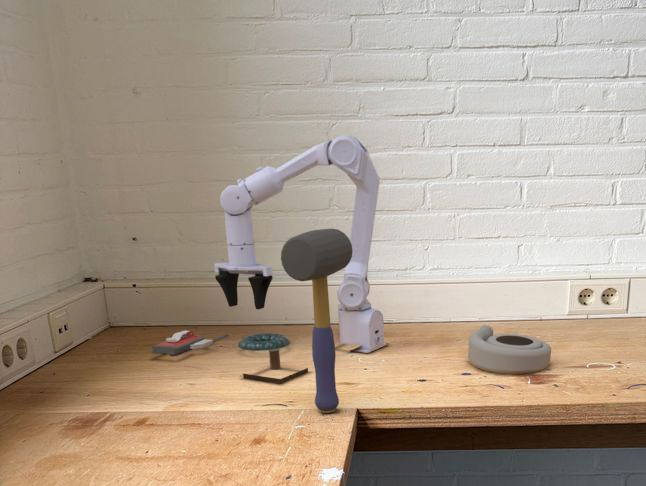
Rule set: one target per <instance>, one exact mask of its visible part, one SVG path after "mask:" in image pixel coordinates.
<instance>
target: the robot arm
mask: <svg viewBox="0 0 646 486" xmlns="http://www.w3.org/2000/svg"><path fill="white" fill-rule="evenodd" d="M333 165H334V166H335V167H337V168H338V169H339V170H341V171H342V172H344V173H345V174H346V175H347V176H348V177H349V179H350V180H351V181H352V183H353V184H354V185H355V187H356V190H355V196H354V206H353V210H352V211H353V212H352V219H351V226H350V235H349V240H350V242H351V244H352V250H353V251H352V258H351V260H350V263H349V264H348V265H347V266H346V267H345V268H344V274H343V280H342V281H341V284H340V285H339V287H338V288H337V291H336V296H337V300H338V303H339V304H338V305H337V311H338V314H337V315H338V330H339V334H338V335H339V343H341V345H342V344H343V345H346V346H347V345H349V346H358V347H355V348H353V349H350V350H349V352H355V353H364V354H369V353H372V352H373V351H376V350H378V349H380V348H383V347H385V346H387V343H386V342H385V328H384V327H385V325H384V323H385V322H384V316H383V313H382V311H380V310H379V309H375V308H373V307H372V303H371V302H370V301H369V300H368V299H367V298H368V296H369V294H370V291H371V289H370V288H371V286H370V282H369V279H368V274H369V273H368V272H369V261H370V255H371V254H370V253H371V246H372V241H373V234H374V225H375V219H376V218H375V217H376V212H377V205H378V204H377V203H378V198H379V197H378V196H379V190H380V176H379V174H378V172H377V169H376V167H375V165H374V162H373V161H372V157H371V155H370V153H369V151H368V149H367V147H365V146H364V145H363V143H362V142H361V141H360V140H359V139H358V138H356V137H355V136H352V135H339V136H336V137H334V139H332V140H327V141H324V142H321V143H319V144H317V145H314V146H313V147H312V146H311V148H309V149H306V151H303V152H302V153H301V154H299V155H296V156H295V157H294V158H292V159H290V160H289V161H287V162H286V163H284V164H282V165H281V166H279V167H277V168H276V167H273V166H271V165H267V166H265V167H264V166H263V165H261V166H259V167H257V168H256V169H255V170H256V172H254V173H252V174H251V175H249V176H247V177H245V178H244V179H243V178H242V177H241V178H238V179H237V180H236V182H237V184H236V185H235V184H234V185H232V184H231V185H227V187H226V188H225V189H223V190H222V192H221V193H220V196H219V197H220V198H219V203H220V206H221V208H222V209H223V211H224V212H223V213H224V221H225V222H224V227H225V236H226V237H225V238H226V246H227V257H228V262H217V263H214V265H213V266H214V273H215V274H216V275H215V277H214V278H215V280H216V282H217V283H218V284H219V286H220V288H221V289H222V291H223V294H224V296H225V299H226V302H227V304H228V307H229V308H232V307H236V306H238V304H239V303H238V302H239V300H238V299H239V297H238V284H239V283H238V282H239V275H250V276H249V277H248V282H249V283H250V287H251V290H252V294H253V301H254V302H253V303H254V308H255V310H261V309H265V305H266V298H267V294H268V290H269V287H270V285H271V282H272V280H273V276H274V275H273V265H267V264H266V265H265V264H261V263H257V260H256V247H255V237H254V235H255V234H254V223H253V220H252V210H251V209H252V208H253V206H258V205H260V204H262V203H263V202H265V201H267V200H269V199H271V198H272V197H275V196H276V195H278V194H280V193H282V192H283V189H284V185H285V183H286V182H288V181H290V180H292V179H293V178H297V177H298V176H299V175H302V174H304V173H305V172H307V171H309V170H312V169H313V168H315V167H317V166H333ZM217 273H218V274H217ZM251 275H253V276H251Z"/></svg>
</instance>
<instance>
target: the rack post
mask: <svg viewBox="0 0 646 486" xmlns="http://www.w3.org/2000/svg"><path fill="white" fill-rule="evenodd" d="M280 354H281V353H280V348H279V349H270V350H268V355H269V356H268V357H269V368H270V369H269V370H271V371H278V370H281V367H282V366H281V365H282V364H281V355H280ZM308 373H309V367H306V368H304V369H301V370H299V371H297V372H294V373H292V374H289V375H287V376H284V377H282V378H276V377H269V376H264V375H263V376H262V375H256V374H249V373H242V377H243V378H242V379H243V380H248V381H249V380H250V381H256V382H262V383H270V384H276V385H282V384H284V383H287V382H290V381H291V380H294V379H297V378H299V377H301V376H304V375H306V374H308Z"/></svg>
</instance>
